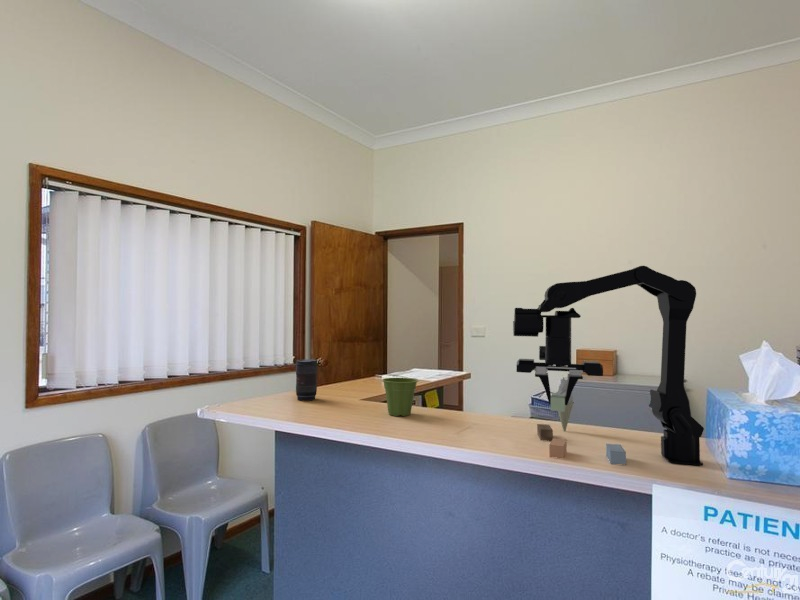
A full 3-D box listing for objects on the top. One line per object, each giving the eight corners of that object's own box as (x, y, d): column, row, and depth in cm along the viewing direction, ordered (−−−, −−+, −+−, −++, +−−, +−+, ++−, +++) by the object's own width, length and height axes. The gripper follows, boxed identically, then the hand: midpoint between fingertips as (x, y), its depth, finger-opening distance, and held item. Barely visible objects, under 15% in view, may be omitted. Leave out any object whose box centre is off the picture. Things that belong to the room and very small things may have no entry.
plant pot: (413, 419, 142) (413, 382, 142) (376, 416, 145) (377, 381, 145) (421, 412, 153) (421, 378, 154) (387, 409, 156) (388, 376, 157)
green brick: (565, 407, 109) (565, 394, 109) (564, 411, 103) (564, 398, 103) (552, 406, 110) (552, 393, 110) (550, 410, 104) (550, 397, 105)
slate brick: (620, 458, 104) (620, 444, 104) (626, 466, 98) (625, 451, 98) (606, 456, 104) (606, 443, 105) (610, 464, 99) (610, 450, 99)
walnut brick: (548, 435, 123) (548, 424, 123) (552, 441, 117) (552, 429, 117) (537, 435, 124) (537, 424, 124) (540, 441, 118) (540, 429, 118)
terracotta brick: (566, 452, 107) (566, 439, 108) (563, 459, 102) (563, 446, 102) (553, 451, 109) (553, 438, 109) (549, 458, 103) (549, 444, 104)
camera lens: (291, 400, 173) (292, 360, 174) (302, 397, 181) (302, 359, 182) (310, 401, 171) (311, 361, 172) (320, 398, 179) (321, 359, 179)
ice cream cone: (551, 429, 129) (550, 376, 130) (565, 428, 131) (565, 375, 132) (563, 433, 124) (562, 378, 125) (578, 432, 126) (577, 377, 127)
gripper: (597, 337, 112) (597, 401, 112) (518, 335, 118) (518, 396, 117) (603, 338, 102) (603, 409, 101) (516, 336, 107) (516, 403, 106)
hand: (558, 404), depth 107 cm, fingers closed on green brick, 3 cm apart
